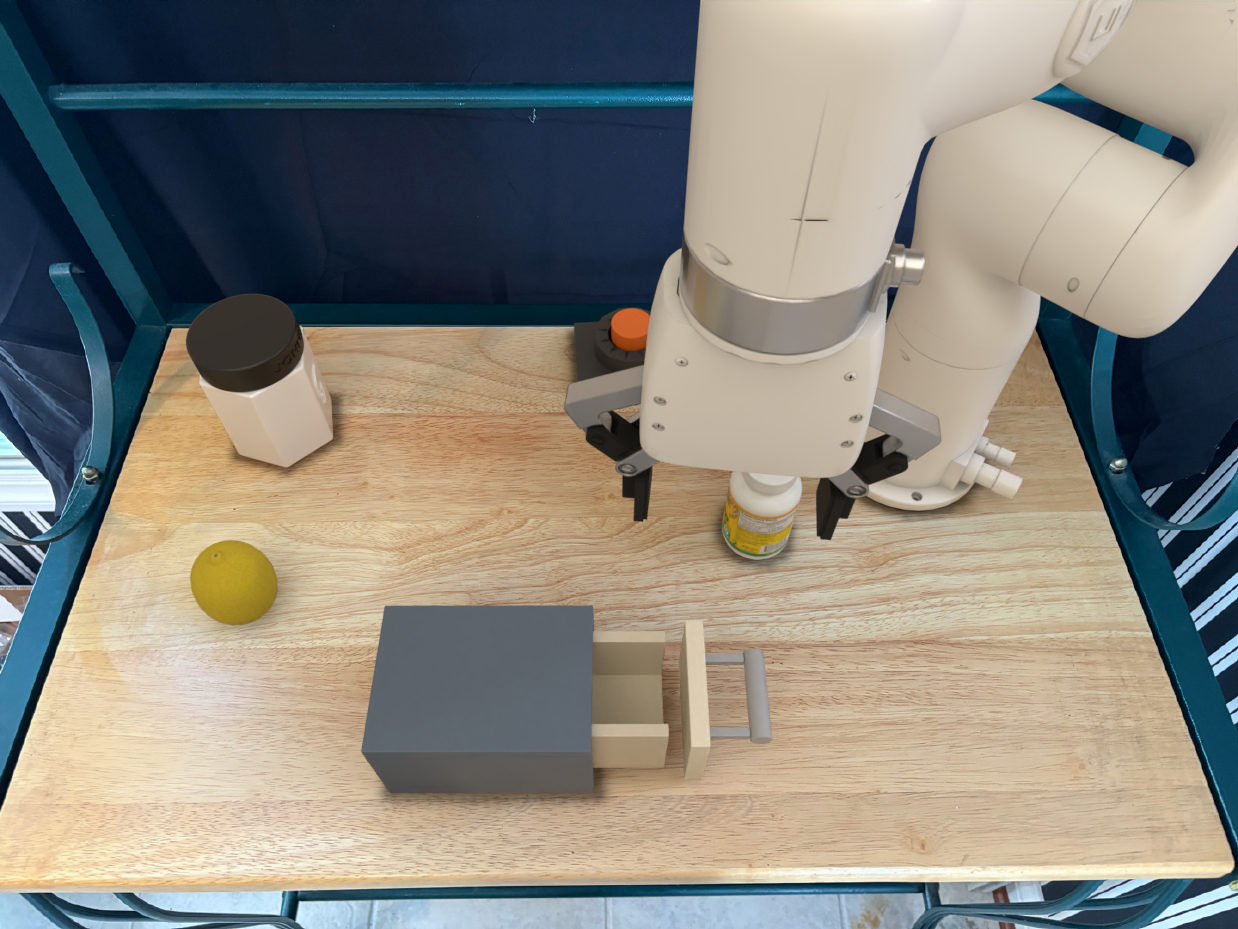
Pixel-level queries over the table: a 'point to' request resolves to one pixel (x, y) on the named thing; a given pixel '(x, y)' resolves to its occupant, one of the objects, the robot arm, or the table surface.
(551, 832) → the table surface
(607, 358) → the control block
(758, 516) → the supplement bottle
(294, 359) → the jar
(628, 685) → the drawer
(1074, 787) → the table surface
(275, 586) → the lemon
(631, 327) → the button
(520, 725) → the cabinet
